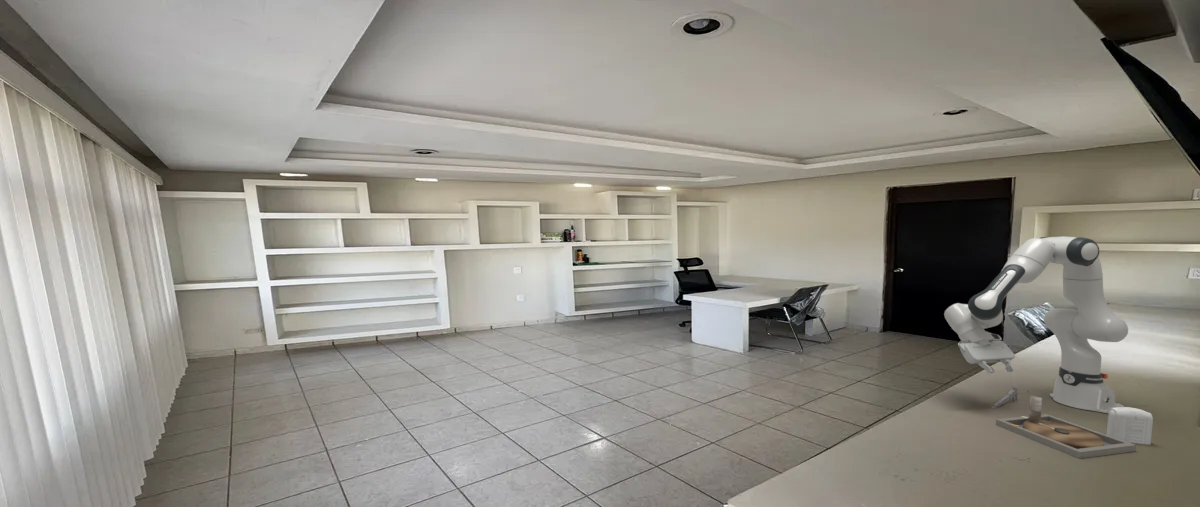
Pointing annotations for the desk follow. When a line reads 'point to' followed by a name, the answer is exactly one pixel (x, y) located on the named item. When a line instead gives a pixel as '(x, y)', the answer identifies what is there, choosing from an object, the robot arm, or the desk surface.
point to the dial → (1059, 429)
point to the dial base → (1110, 444)
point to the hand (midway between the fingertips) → (1001, 371)
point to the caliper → (1007, 397)
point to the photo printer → (1130, 425)
